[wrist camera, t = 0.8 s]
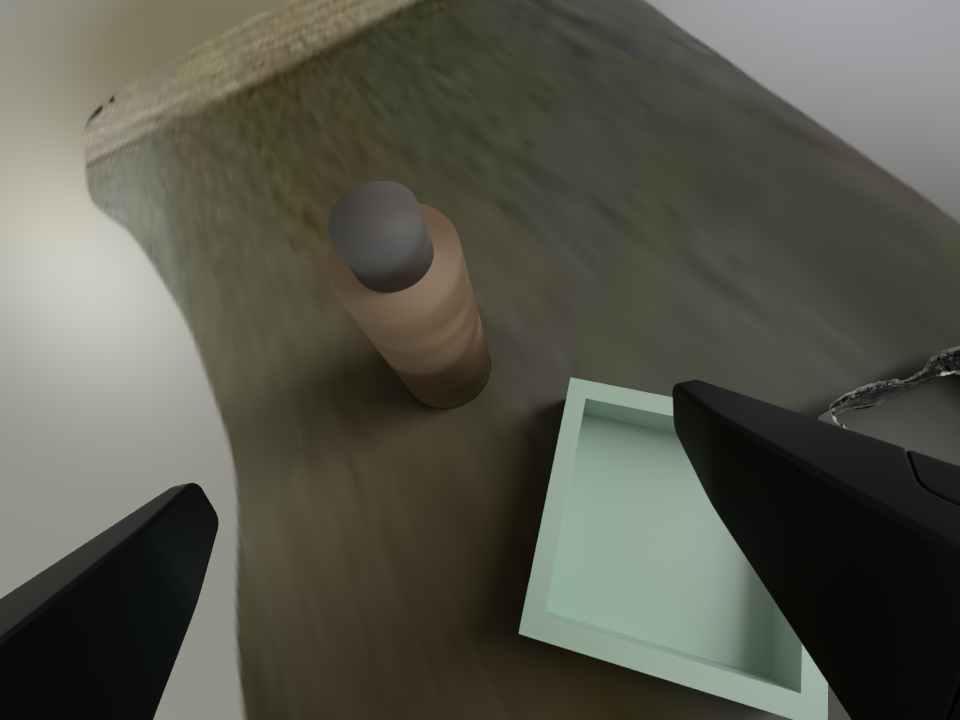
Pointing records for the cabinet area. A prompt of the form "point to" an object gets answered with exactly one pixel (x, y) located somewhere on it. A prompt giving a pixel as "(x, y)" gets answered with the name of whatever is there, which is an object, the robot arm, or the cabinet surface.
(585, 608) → the tray
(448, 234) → the pepper mill
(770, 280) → the cabinet surface
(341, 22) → the cabinet surface
